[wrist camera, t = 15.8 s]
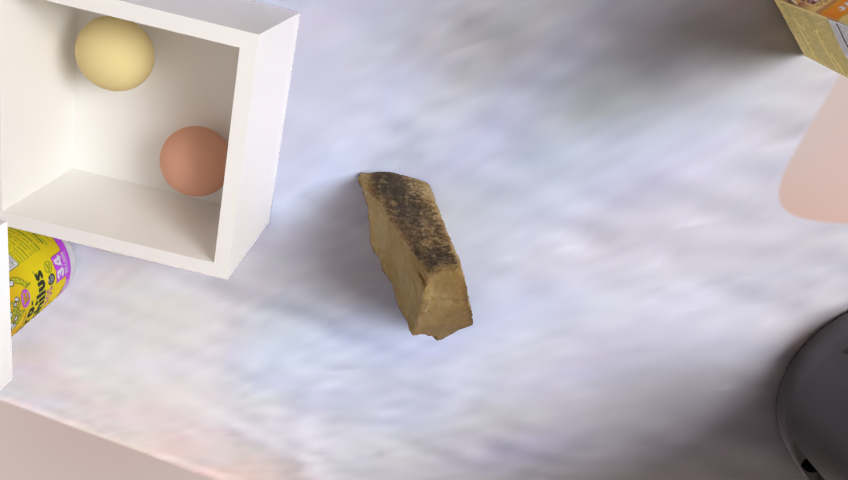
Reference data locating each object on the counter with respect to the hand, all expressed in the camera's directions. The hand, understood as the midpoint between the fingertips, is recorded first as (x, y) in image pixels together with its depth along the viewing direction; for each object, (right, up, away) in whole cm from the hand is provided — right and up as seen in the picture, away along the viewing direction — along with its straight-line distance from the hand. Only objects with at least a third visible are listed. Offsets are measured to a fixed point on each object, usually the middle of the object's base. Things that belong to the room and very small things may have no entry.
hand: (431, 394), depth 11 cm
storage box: (-15, +11, +33) cm, 38 cm away
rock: (0, +2, +36) cm, 36 cm away
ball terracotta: (-13, +7, +32) cm, 35 cm away
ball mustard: (-17, +12, +30) cm, 36 cm away
